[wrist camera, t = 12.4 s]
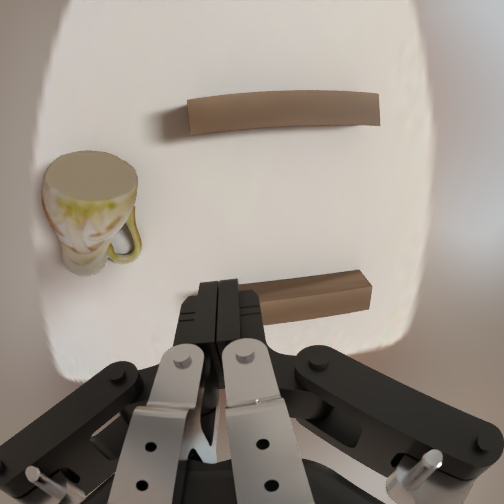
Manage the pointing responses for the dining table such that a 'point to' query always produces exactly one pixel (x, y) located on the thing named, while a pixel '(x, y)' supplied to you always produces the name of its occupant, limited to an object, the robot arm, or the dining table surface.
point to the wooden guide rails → (293, 114)
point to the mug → (90, 208)
